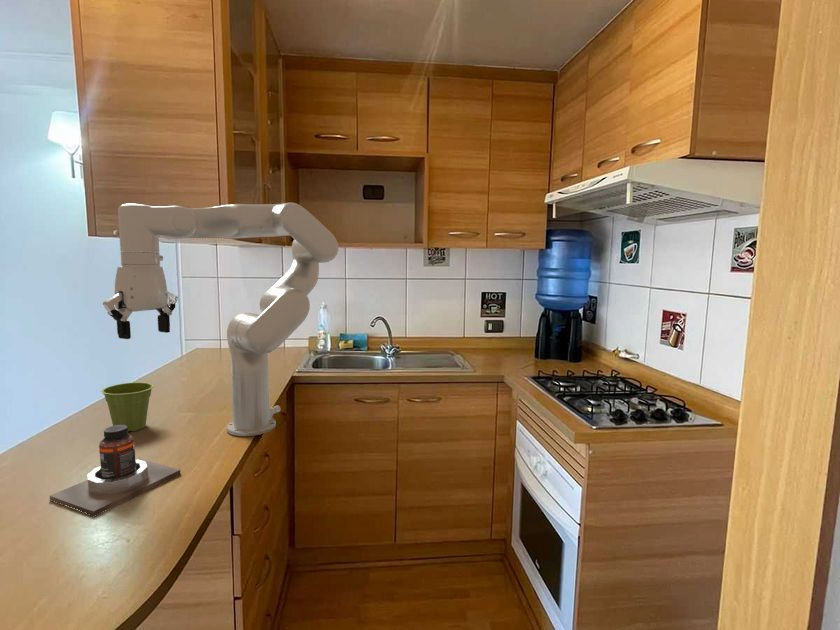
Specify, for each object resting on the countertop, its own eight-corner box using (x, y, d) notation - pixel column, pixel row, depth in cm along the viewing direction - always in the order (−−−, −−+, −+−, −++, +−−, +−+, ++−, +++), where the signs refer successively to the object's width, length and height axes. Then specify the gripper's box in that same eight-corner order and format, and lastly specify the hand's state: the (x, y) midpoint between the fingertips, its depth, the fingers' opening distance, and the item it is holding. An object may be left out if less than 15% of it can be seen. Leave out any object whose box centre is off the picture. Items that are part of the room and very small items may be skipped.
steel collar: (126, 466, 100) (125, 455, 100) (158, 476, 96) (157, 464, 96) (76, 487, 91) (75, 475, 91) (110, 499, 87) (109, 486, 87)
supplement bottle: (143, 474, 97) (139, 422, 95) (126, 488, 91) (122, 433, 90) (113, 474, 97) (110, 422, 95) (95, 488, 91) (90, 433, 89)
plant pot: (145, 435, 120) (142, 393, 118) (95, 437, 118) (91, 394, 117) (162, 419, 132) (160, 381, 130) (117, 421, 130) (114, 382, 128)
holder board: (139, 462, 105) (139, 458, 104) (180, 474, 100) (180, 469, 99) (49, 500, 88) (49, 495, 88) (93, 516, 83) (93, 511, 83)
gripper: (163, 260, 114) (167, 328, 116) (90, 260, 98) (95, 339, 100) (185, 260, 111) (188, 331, 113) (113, 260, 95) (118, 342, 97)
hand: (145, 335), depth 106 cm, fingers open, 9 cm apart
